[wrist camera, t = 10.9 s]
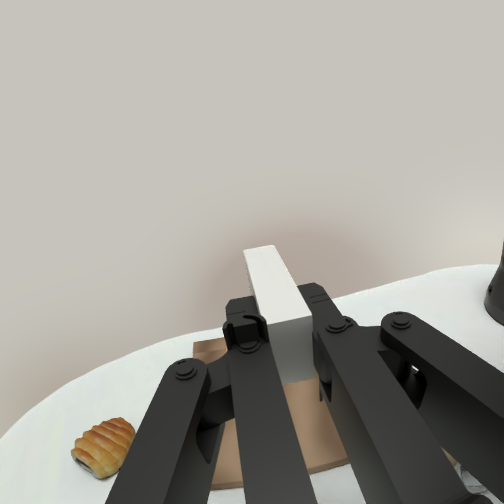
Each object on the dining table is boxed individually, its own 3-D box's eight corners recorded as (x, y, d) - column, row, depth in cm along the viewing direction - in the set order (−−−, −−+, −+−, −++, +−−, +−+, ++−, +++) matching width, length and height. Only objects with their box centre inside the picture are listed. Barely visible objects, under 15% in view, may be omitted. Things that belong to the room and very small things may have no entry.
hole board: (316, 326, 50) (315, 319, 50) (381, 451, 26) (383, 445, 26) (195, 349, 49) (193, 342, 48) (194, 491, 25) (189, 485, 24)
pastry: (112, 419, 35) (101, 401, 34) (150, 435, 33) (139, 417, 31) (73, 463, 27) (58, 446, 26) (110, 487, 25) (94, 471, 23)
